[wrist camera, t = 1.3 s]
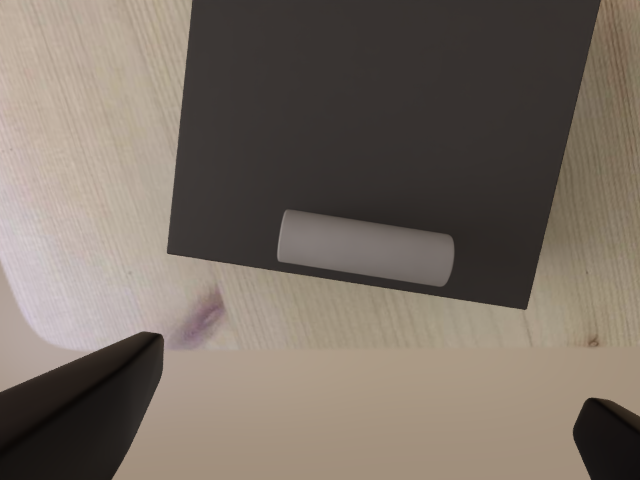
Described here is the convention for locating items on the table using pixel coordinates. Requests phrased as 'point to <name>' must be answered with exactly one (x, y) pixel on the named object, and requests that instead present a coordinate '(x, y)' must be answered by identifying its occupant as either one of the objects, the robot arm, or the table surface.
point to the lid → (378, 139)
